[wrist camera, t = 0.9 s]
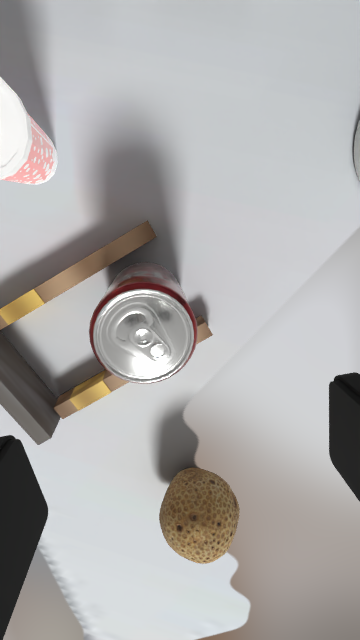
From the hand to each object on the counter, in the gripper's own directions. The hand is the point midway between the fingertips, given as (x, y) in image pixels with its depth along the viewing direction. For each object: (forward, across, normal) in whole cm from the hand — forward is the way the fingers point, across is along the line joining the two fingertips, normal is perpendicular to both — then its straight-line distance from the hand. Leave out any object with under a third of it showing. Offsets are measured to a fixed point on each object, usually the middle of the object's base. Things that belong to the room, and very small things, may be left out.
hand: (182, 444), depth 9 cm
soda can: (+23, +2, +1) cm, 23 cm away
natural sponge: (+23, +1, +25) cm, 34 cm away
